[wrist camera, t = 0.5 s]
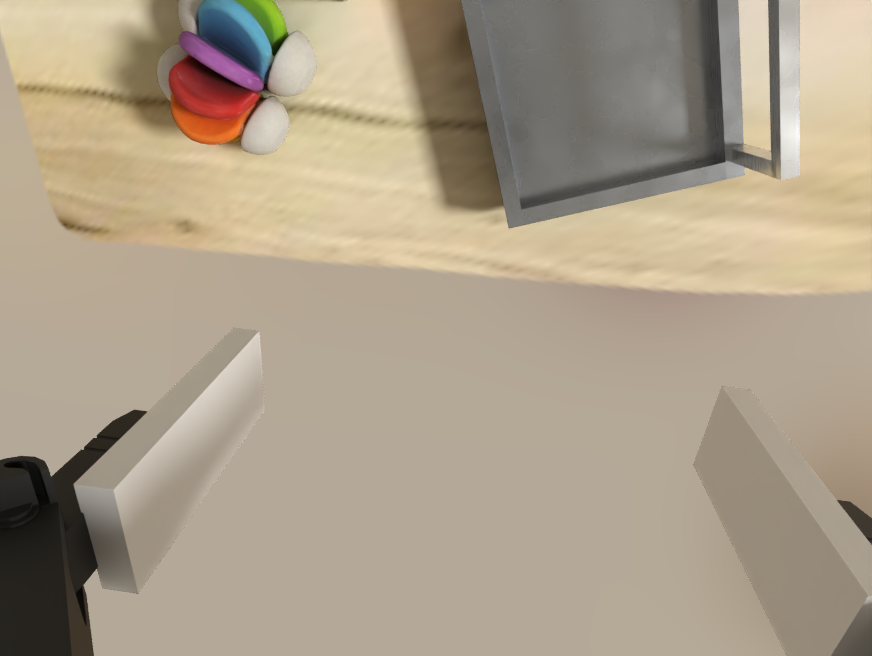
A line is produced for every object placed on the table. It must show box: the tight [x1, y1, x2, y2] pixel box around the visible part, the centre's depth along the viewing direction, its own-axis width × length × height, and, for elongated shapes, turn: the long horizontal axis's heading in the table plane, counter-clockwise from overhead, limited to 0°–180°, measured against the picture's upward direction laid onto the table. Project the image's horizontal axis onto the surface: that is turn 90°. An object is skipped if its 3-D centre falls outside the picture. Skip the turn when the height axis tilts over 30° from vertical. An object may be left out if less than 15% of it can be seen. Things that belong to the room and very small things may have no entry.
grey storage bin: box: [461, 0, 800, 228], centre depth 30 cm, size 14×14×10 cm
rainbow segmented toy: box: [157, 0, 317, 155], centre depth 33 cm, size 8×10×7 cm
